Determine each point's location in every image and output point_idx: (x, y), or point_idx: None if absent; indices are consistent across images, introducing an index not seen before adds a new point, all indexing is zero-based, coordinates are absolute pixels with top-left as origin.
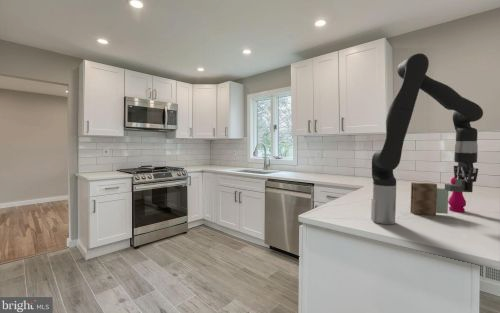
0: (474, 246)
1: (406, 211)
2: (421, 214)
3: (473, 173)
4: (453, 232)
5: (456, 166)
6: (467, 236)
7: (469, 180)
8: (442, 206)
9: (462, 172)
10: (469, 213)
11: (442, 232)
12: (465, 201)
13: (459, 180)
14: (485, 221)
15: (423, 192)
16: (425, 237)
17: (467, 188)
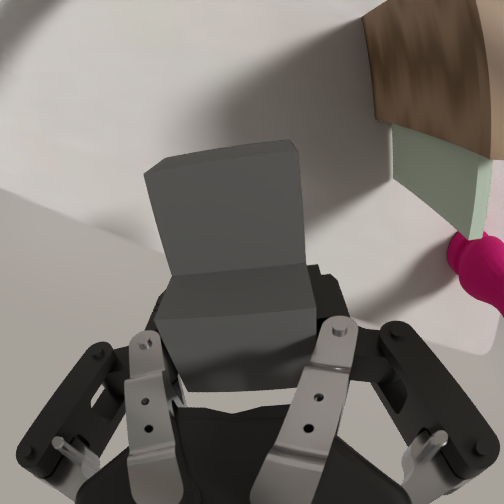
0: (11, 152)
1: None
2: (368, 53)
3: (84, 439)
4: (100, 116)
5: (456, 474)
6: (78, 153)
7: (87, 353)
8: (409, 163)
9: (161, 425)
10: (436, 277)
11: (83, 80)
12: (472, 296)
13: (205, 311)
14: None
15: (435, 43)
16: (22, 39)
17: (159, 298)
